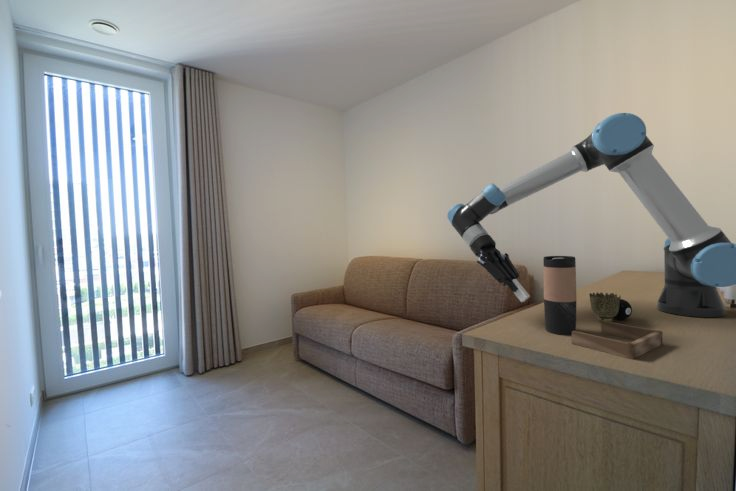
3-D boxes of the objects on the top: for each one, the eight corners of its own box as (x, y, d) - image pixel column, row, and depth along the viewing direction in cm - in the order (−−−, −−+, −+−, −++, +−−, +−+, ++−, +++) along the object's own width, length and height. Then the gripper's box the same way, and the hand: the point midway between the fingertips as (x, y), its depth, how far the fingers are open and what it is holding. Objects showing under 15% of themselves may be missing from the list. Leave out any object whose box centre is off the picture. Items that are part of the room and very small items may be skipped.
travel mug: (575, 328, 94) (573, 255, 93) (578, 336, 87) (577, 258, 86) (543, 326, 97) (542, 255, 97) (545, 333, 91) (543, 258, 90)
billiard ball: (620, 322, 98) (620, 301, 97) (601, 317, 103) (601, 297, 103) (637, 320, 99) (637, 300, 99) (617, 315, 105) (617, 296, 104)
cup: (626, 325, 94) (626, 296, 94) (596, 325, 96) (596, 297, 96) (612, 318, 102) (612, 291, 101) (585, 318, 103) (585, 292, 103)
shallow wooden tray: (602, 331, 90) (602, 320, 90) (662, 344, 80) (662, 331, 79) (571, 343, 83) (571, 331, 82) (632, 359, 72) (632, 345, 72)
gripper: (486, 247, 119) (531, 303, 106) (459, 250, 113) (503, 310, 99) (499, 232, 115) (547, 288, 101) (471, 234, 108) (519, 294, 94)
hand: (525, 299), depth 100 cm, fingers closed
